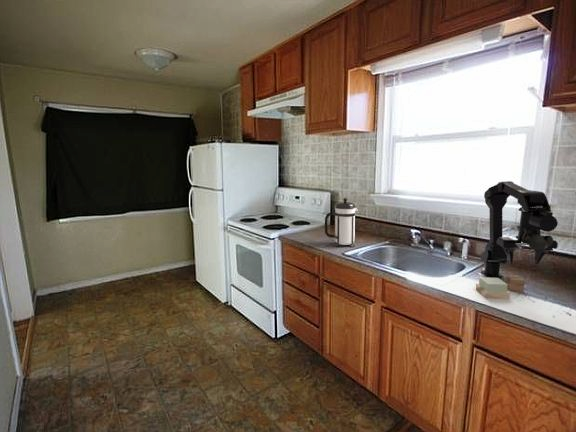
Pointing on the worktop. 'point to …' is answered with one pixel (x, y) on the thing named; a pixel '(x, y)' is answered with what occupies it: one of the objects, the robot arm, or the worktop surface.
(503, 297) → the birch base block
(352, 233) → the coffee press
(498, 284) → the sage top block
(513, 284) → the walnut cube
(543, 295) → the worktop surface
